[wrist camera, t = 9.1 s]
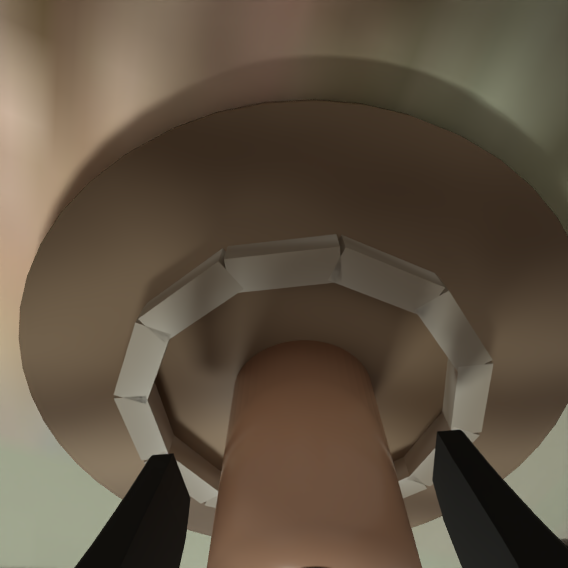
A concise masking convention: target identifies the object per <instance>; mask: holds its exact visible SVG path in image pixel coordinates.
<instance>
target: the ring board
mask: <svg viewBox="0 0 568 568" xmlns="http://www.w3.org/2000/svg"><path fill="white" fill-rule="evenodd" d="M298 340H310V341H319V342H325V343H328V344H332V345H335V346H337V347H340V348H342V349H344V350H346V351H347V352H349V353H351V354H352V355H353V356H355V357H356V358H357V359H358V360H359V361H360V362H361V363H362V364H363V366H364V367H365V369H366V370H367V372H368V374H369V376H370V380H371V383H372V387H373V390H374V394H375V398H376V401H377V405H378V409H379V412H380V416H381V420H382V423H383V427H384V431H385V434H386V438H387V442H388V445H389V449H390V453H391V456H392V460H393V464H394V467H395V471H396V474H397V478H398V482H399V485H400V489H401V493H402V496H403V500H404V504H405V507H406V511H407V515H408V518H409V522H410V526H411V528H412V527H415V526H418V525H421V524H424V523H427V522H429V521H431V520H434V519H436V518H438V517H440V516H442V513H441V509H440V506H439V503H438V499H437V495H436V492H435V488H434V485H433V481H432V477H433V467H434V456H435V446H436V436H437V431H448V430H462V431H463V432H464V433H465V434H466V436H467V437H468V438H469V439H470V441H471V442H472V443H473V444H474V446H475V447H476V448H477V449H478V450H479V452H480V453H481V454H482V455H483V456H484V458H485V459H486V460H487V461H488V462H489V464H490V465H491V466H492V467H493V468H494V469H495V471H496V472H497V473H498V474H499V475H500V476H501V478H502V479H504V478H505V477H506V476H508V475H509V474H510V473H511V472H512V471H514V470H515V469H516V468H517V467H519V466H520V465H521V464H522V463H523V462H524V461H525V460H526V458H527V457H528V456H529V455H530V454H531V453H532V452H533V451H534V450H535V449H536V448H537V447H538V446H539V445H540V444H541V442H542V441H543V440H544V438H545V437H546V436H547V435H548V433H549V432H550V431H551V429H552V428H553V427H554V425H555V424H556V423H557V421H558V419H559V417H560V416H561V414H562V412H563V411H564V409H565V407H566V405H567V404H568V236H567V234H566V232H565V231H564V229H563V227H562V225H561V223H560V222H559V220H558V218H557V217H556V215H555V214H554V213H553V212H552V210H551V209H550V208H549V207H548V206H547V204H546V203H545V202H544V201H543V199H542V198H541V197H540V196H539V194H538V193H537V192H536V191H535V190H534V188H533V187H532V186H531V185H529V184H528V183H527V182H526V181H525V180H524V179H522V178H521V177H520V176H519V175H518V174H517V173H515V172H514V171H513V170H512V169H511V168H510V167H508V166H507V165H506V164H505V163H504V162H503V161H501V160H500V159H498V158H497V157H495V156H493V155H492V154H490V153H488V152H487V151H485V150H483V149H482V148H480V147H478V146H477V145H475V144H473V143H472V142H470V141H468V140H467V139H465V138H463V137H462V136H459V135H457V134H455V133H452V132H450V131H448V130H445V129H443V128H440V127H438V126H435V125H433V124H430V123H428V122H425V121H423V120H420V119H418V118H415V117H413V116H410V115H408V114H404V113H400V112H395V111H391V110H387V109H383V108H378V107H374V106H370V105H366V104H361V103H349V102H338V101H326V100H314V99H313V100H295V101H278V102H264V103H259V104H254V105H249V106H244V107H240V108H235V109H230V110H225V111H220V112H216V113H214V114H211V115H208V116H205V117H203V118H200V119H197V120H194V121H192V122H189V123H186V124H183V125H181V126H178V127H175V128H173V129H171V130H169V131H167V132H166V133H164V134H162V135H160V136H158V137H156V138H155V139H153V140H151V141H149V142H147V143H145V144H143V145H142V146H140V147H138V148H136V149H134V150H133V151H131V152H129V153H128V154H126V155H124V156H123V157H122V158H121V159H119V160H118V161H117V162H115V163H114V164H113V165H111V166H110V167H109V168H107V169H106V170H105V171H104V172H102V173H101V174H100V175H98V176H97V177H96V178H94V179H93V180H92V181H91V182H89V183H88V184H87V186H86V187H85V188H84V189H83V190H82V191H81V192H80V193H79V194H78V195H77V196H76V197H75V198H74V199H73V200H72V202H71V203H70V204H69V205H68V206H67V207H66V208H65V209H64V210H63V211H62V212H61V214H60V215H59V217H58V218H57V220H56V221H55V223H54V224H53V226H52V228H51V229H50V231H49V232H48V234H47V235H46V237H45V238H44V240H43V241H42V243H41V245H40V247H39V249H38V252H37V254H36V256H35V259H34V261H33V263H32V266H31V268H30V271H29V273H28V275H27V279H26V283H25V288H24V292H23V297H22V301H21V306H20V322H19V344H20V351H21V359H22V366H23V370H24V374H25V377H26V380H27V383H28V386H29V390H30V393H31V396H32V398H33V400H34V402H35V404H36V406H37V408H38V410H39V412H40V414H41V416H42V418H43V420H44V422H45V423H46V425H47V426H48V428H49V429H50V431H51V432H52V434H53V435H54V437H55V438H56V440H57V441H58V443H59V444H60V445H61V446H62V447H63V448H64V450H65V451H66V452H67V453H68V454H69V455H70V456H71V457H72V459H73V460H74V461H75V462H76V463H77V464H78V465H79V466H80V467H81V468H82V469H84V470H85V471H86V472H87V473H88V474H89V475H90V476H91V477H92V478H94V479H95V480H96V481H97V482H98V483H100V484H101V485H103V486H104V487H105V488H107V489H108V490H109V491H111V492H112V493H114V494H115V495H116V496H118V497H119V498H121V499H123V498H124V497H125V495H126V494H127V492H128V491H129V489H130V488H131V486H132V484H133V483H134V481H135V480H136V478H137V477H138V475H139V474H140V472H141V470H142V469H143V467H144V466H145V464H146V463H147V461H148V459H149V458H150V457H151V456H152V455H159V454H171V453H174V456H175V459H176V461H177V464H178V467H179V469H180V472H181V474H182V477H183V480H184V482H185V485H186V488H187V490H188V493H189V496H190V498H191V499H190V508H189V517H188V525H187V529H188V530H190V531H194V532H198V533H201V534H205V535H209V536H212V531H213V524H214V517H215V510H216V504H217V497H218V490H219V484H220V477H221V470H222V464H223V457H224V450H225V443H226V437H227V430H228V423H229V417H230V410H231V403H232V397H233V390H234V385H235V381H236V378H237V376H238V374H239V372H240V370H241V369H242V367H243V366H244V365H245V364H246V363H247V362H248V361H249V360H250V359H251V358H252V357H253V356H255V355H256V354H258V353H259V352H261V351H263V350H265V349H267V348H269V347H271V346H274V345H277V344H280V343H284V342H290V341H298Z"/></svg>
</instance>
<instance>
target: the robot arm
mask: <svg viewBox="0 0 568 568" xmlns="http://www.w3.org/2000/svg"><path fill="white" fill-rule="evenodd" d="M432 481H433V485H434V488H435V492H436V495H437V499H438V503H439V506H440V509H441V513H442V516H443V520H444V522H445V525H446V528H447V530H448V533H449V535H450V538H451V540H452V543H453V546H454V548H455V551H456V553H457V556H458V558H459V561H460V563H461V566H462V568H568V547H567V546H566V545H565V544H564V543H563V542H562V541H561V540H560V539H559V538H558V537H557V536H556V535H555V534H554V533H553V532H552V531H551V530H550V529H549V528H548V527H547V526H546V525H545V524H544V523H543V522H542V521H541V520H540V519H539V518H538V517H537V516H536V515H535V514H534V513H533V512H532V510H531V509H530V508H529V507H528V506H527V505H526V504H525V503H524V502H523V501H522V500H521V499H520V498H519V496H518V495H517V494H516V493H515V492H514V491H513V490H512V489H511V488H510V487H509V485H508V484H507V483H506V482H505V481H504V480H503V479H502V478H501V476H500V475H499V474H498V473H497V472H496V471H495V469H494V468H493V467H492V466H491V465H490V464H489V462H488V461H487V460H486V459H485V458H484V456H483V455H482V454H481V453H480V452H479V450H478V449H477V448H476V447H475V446H474V444H473V443H472V442H471V441H470V439H469V438H468V437H467V436H466V434H465V433H464V432H463V431H462V430H448V431H437V436H436V446H435V456H434V467H433V477H432ZM190 499H191V498H190V496H189V493H188V490H187V488H186V485H185V482H184V480H183V477H182V474H181V472H180V469H179V467H178V464H177V461H176V459H175V456H174V453H171V454H159V455H152V456H151V457H150V458H149V459H148V461H147V463H146V464H145V466H144V467H143V469H142V470H141V472H140V474H139V475H138V477H137V478H136V480H135V481H134V483H133V484H132V486H131V488H130V489H129V491H128V492H127V494H126V495H125V497H124V498H123V500H122V501H121V503H120V504H119V506H118V507H117V509H116V510H115V512H114V513H113V515H112V516H111V518H110V519H109V520H108V522H107V523H106V525H105V526H104V528H103V529H102V531H101V532H100V534H99V535H98V536H97V538H96V539H95V541H94V542H93V543H92V545H91V546H90V548H89V549H88V550H87V552H86V553H85V554H84V556H83V557H82V558H81V560H80V561H79V562H78V564H77V565H76V566H75V568H179V566H180V562H181V557H182V553H183V549H184V544H185V539H186V532H187V525H188V517H189V508H190Z"/></svg>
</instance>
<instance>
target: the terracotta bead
mask: <svg viewBox="0 0 568 568" xmlns="http://www.w3.org/2000/svg"><path fill="white" fill-rule="evenodd" d="M207 568H422V566H421V562H420V559H419V555H418V551H417V548H416V544H415V540H414V537H413V533H412V529H411V526H410V522H409V518H408V515H407V511H406V507H405V504H404V500H403V496H402V493H401V489H400V485H399V482H398V478H397V474H396V471H395V467H394V464H393V460H392V456H391V453H390V449H389V445H388V442H387V438H386V434H385V431H384V427H383V423H382V420H381V416H380V412H379V409H378V405H377V401H376V398H375V394H374V390H373V387H372V383H371V380H370V376H369V374H368V372H367V370H366V369H365V367H364V366H363V364H362V363H361V362H360V361H359V360H358V359H357V358H356V357H355V356H353V355H352V354H351V353H349V352H347V351H346V350H344V349H342V348H340V347H337V346H335V345H332V344H328V343H325V342H319V341H310V340H298V341H290V342H284V343H280V344H277V345H274V346H271V347H269V348H267V349H265V350H263V351H261V352H259V353H258V354H256V355H255V356H253V357H252V358H251V359H250V360H249V361H248V362H247V363H246V364H245V365H244V366H243V367H242V369H241V370H240V372H239V374H238V376H237V378H236V381H235V385H234V390H233V397H232V403H231V410H230V417H229V423H228V430H227V437H226V443H225V450H224V457H223V464H222V470H221V477H220V484H219V490H218V497H217V504H216V510H215V517H214V524H213V531H212V537H211V544H210V551H209V557H208V564H207Z"/></svg>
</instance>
